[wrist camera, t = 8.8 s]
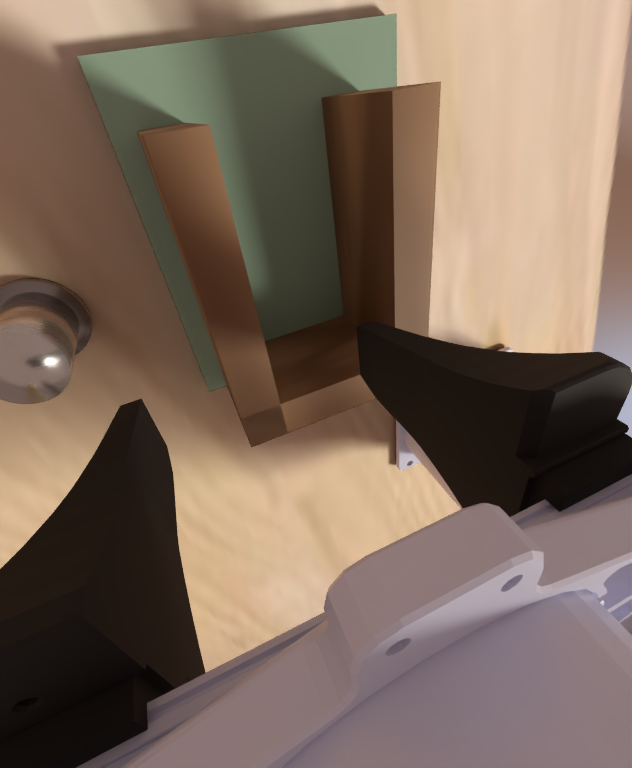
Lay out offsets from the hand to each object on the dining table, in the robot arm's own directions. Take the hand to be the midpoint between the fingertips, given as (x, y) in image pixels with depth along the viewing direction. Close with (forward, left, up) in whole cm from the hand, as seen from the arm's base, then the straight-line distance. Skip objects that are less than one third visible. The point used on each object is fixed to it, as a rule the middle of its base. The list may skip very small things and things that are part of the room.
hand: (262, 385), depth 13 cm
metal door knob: (+7, -2, -7) cm, 10 cm away
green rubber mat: (-4, -3, -7) cm, 8 cm away
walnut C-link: (-3, -2, -6) cm, 7 cm away
